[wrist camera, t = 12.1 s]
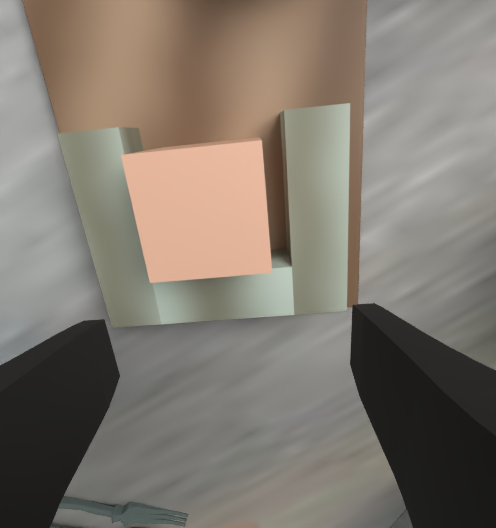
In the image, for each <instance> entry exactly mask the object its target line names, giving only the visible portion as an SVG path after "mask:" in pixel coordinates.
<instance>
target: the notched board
mask: <svg viewBox="0 0 496 528" xmlns="http://www.w3.org/2000/svg"><path fill="white" fill-rule="evenodd" d="M22 1H23V4H24V8H25V11H26V15H27V18H28V22H29V26H30V29H31V33H32V36H33V40H34V43H35V47H36V50H37V54H38V58H39V61H40V65H41V68H42V72H43V75H44V79H45V83H46V86H47V90H48V93H49V97H50V100H51V104H52V108H53V111H54V115H55V118H56V122H57V125H58V129H59V132H60V133H59V134H57V136H58V139H59V143H60V146H61V150H62V154H63V157H64V161H65V164H66V168H67V171H68V175H69V178H70V182H71V185H72V189H73V192H74V196H75V199H76V203H77V206H78V210H79V214H80V217H81V221H82V224H83V228H84V231H85V235H86V238H87V242H88V245H89V249H90V252H91V256H92V259H93V263H94V266H95V270H96V273H97V277H98V281H99V284H100V288H101V291H102V295H103V298H104V302H105V305H106V309H107V312H108V316H109V319H110V323H111V326H112V328H118V327H132V326H146V325H160V324H174V323H188V322H202V321H216V320H230V319H244V318H258V317H271V316H285V315H299V314H313V313H327V312H341V311H347V307H353V305H357V304H358V284H359V250H360V216H361V183H362V149H363V115H364V81H365V47H366V13H367V0H22ZM256 137H260V138H261V140H262V148H263V161H264V174H265V186H266V199H267V212H268V224H269V237H270V250H271V262H272V273H265V274H253V275H241V276H229V277H217V278H205V279H193V280H181V281H169V282H157V283H150V281H149V277H148V272H147V268H146V264H145V259H144V255H143V250H142V246H141V242H140V237H139V233H138V228H137V224H136V220H135V215H134V211H133V206H132V202H131V198H130V193H129V189H128V184H127V180H126V176H125V171H124V167H123V162H122V158H121V155H124V154H130V153H135V152H141V151H146V150H152V149H157V148H163V147H171V146H181V145H190V144H200V143H209V142H219V141H228V140H238V139H247V138H256Z"/></svg>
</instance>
